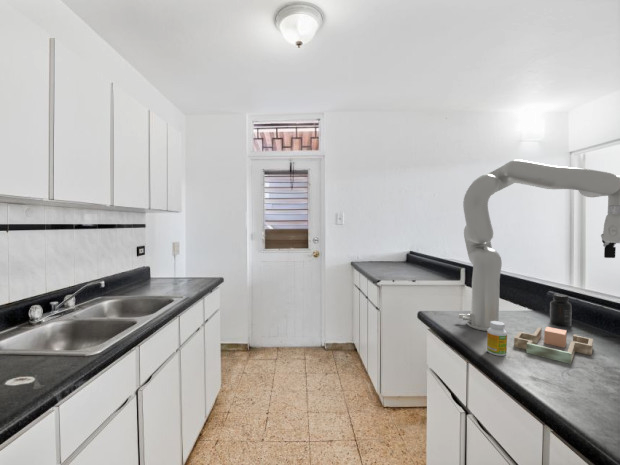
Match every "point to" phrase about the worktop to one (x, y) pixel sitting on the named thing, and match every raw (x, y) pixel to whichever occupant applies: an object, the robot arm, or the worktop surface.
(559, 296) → the supplement bottle
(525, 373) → the worktop surface
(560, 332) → the terracotta block
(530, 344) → the trap lane
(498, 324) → the supplement bottle
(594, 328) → the worktop surface
